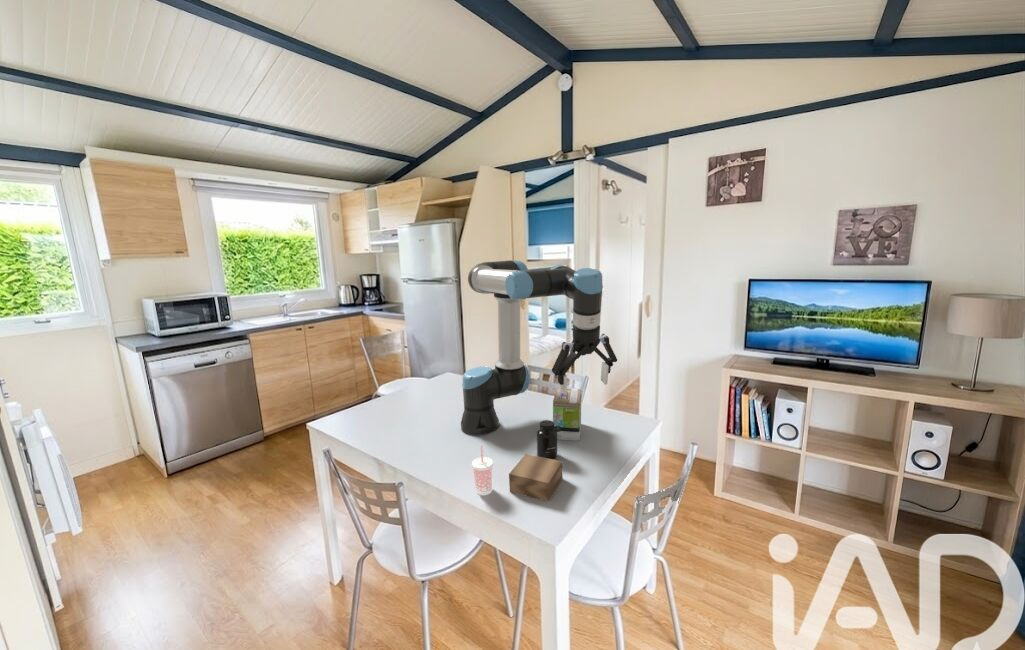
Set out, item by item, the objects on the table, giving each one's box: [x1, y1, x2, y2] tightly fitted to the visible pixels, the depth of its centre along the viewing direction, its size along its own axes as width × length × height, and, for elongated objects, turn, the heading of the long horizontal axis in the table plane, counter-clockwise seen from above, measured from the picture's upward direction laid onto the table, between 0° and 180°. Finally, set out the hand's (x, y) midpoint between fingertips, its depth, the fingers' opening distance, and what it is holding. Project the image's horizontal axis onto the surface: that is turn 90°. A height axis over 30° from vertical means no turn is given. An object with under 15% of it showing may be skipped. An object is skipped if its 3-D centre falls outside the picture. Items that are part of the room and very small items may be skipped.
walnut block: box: [508, 453, 564, 503], centre depth 116 cm, size 12×12×6 cm
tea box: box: [552, 387, 582, 442], centre depth 148 cm, size 15×10×15 cm
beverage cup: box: [471, 445, 494, 496], centre depth 113 cm, size 6×6×14 cm
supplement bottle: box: [536, 419, 558, 460], centre depth 131 cm, size 7×7×12 cm
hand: (584, 387), depth 119 cm, fingers open, 13 cm apart
